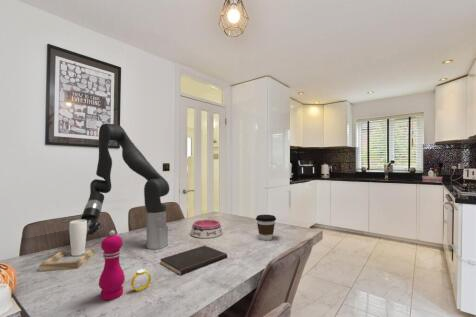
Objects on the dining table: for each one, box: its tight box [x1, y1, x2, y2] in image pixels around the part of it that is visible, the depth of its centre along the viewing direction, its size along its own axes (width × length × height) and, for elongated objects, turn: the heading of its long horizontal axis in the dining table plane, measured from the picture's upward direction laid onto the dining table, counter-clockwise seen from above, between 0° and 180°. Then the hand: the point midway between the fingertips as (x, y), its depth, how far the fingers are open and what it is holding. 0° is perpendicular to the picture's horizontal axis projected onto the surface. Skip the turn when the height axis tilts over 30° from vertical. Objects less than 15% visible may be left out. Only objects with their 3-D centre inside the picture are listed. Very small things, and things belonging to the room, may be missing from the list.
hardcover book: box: [159, 245, 228, 276], centre depth 103 cm, size 16×23×2 cm
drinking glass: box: [68, 219, 87, 257], centre depth 111 cm, size 7×7×15 cm
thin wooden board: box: [38, 247, 96, 272], centre depth 103 cm, size 17×13×2 cm
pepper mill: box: [98, 229, 126, 301], centre depth 76 cm, size 7×7×20 cm
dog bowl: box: [190, 219, 224, 240], centre depth 142 cm, size 18×19×7 cm
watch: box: [130, 268, 152, 292], centre depth 80 cm, size 6×3×6 cm, turn 130°
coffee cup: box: [255, 214, 277, 242], centre depth 131 cm, size 11×11×12 cm
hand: (81, 242), depth 114 cm, fingers closed
